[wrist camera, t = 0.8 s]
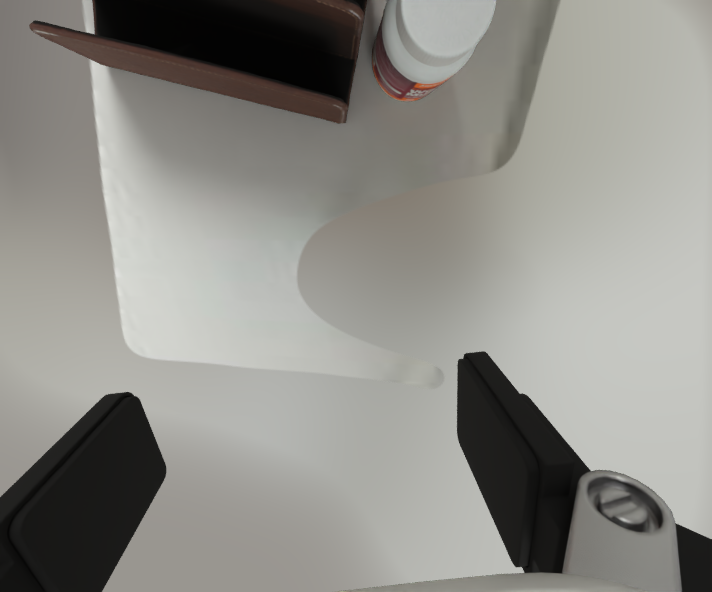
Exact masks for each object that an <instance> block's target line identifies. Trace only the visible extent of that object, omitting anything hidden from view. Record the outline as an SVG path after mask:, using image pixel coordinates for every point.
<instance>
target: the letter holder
mask: <svg viewBox="0 0 712 592" xmlns="http://www.w3.org/2000/svg"><path fill="white" fill-rule="evenodd" d="M92 1H93V12H94V27H95V35H94V34H90V33H85V32H80V31H75V30H72V29H69V28H65V27H60V26H57V25H53V24H49V23H45V22H40V21H33V22H32V23H31V24H30V25H29V26H30V29H31V30H32V31H33V32H35V33H36V34H38V35H40V36H41V37H44V38H45V39H48V40H50V41H52V42H54V43H57V44H59V45H61V46H63V47H65V48H67V49H69V50H72V51H74V52H76V53H78V54H80V55H82V56H85V57H87V58H89V59H91V60H93V61H95V62H97V63H99V64H102V65H105V66H109V67H113V68H118V69H122V70H126V71H130V72H134V73H138V74H141V75H146V76H149V77H154V78H158V79H162V80H166V81H170V82H174V83H178V84H182V85H186V86H190V87H194V88H198V89H202V90H207V91H211V92H215V93H219V94H223V95H227V96H231V97H235V98H239V99H243V100H247V101H251V102H255V103H259V104H263V105H267V106H271V107H275V108H280V109H284V110H288V111H292V112H296V113H300V114H305V115H309V116H313V117H317V118H321V119H325V120H328V121H333V122H336V123H345V122H346V116H347V111H348V106H349V99H350V92H351V87H352V81H353V76H354V71H355V66H356V61H357V57H358V51H359V45H360V40H361V33H362V27H363V21H364V16H365V10H366V4H367V0H92Z"/></svg>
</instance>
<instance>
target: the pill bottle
mask: <svg viewBox="0 0 712 592" xmlns="http://www.w3.org/2000/svg"><path fill="white" fill-rule="evenodd" d="M495 7H496V0H387V3H386V6H385V9H384V13H383V17H382V20H381V23H380V26H379V30H378V33H377V36H376V39H375V42H374V46H373V52H372V66H373V72H374V75H375V78H376V80H377V82H378V84H379V86H380V87H381V88H382V90H383V91H384V92H385V93H386V94H387V95H389V96H390V97H392V98H394V99H396V100H399V101H404V102H410V101H416V100H419V99H421V98H423V97H425V96H426V95H428V94H429V93H431V92H432V91H433V90H435V89H436V88H437V87H439V86H440V85H442V84H443V83H444V82H445V81H447V80H448V79H449V78H450V77H452V76H453V75H454V74H456V73H457V72H458V71H459V70H460V69H461V68H462V67H463V66H464V65H465V64H466V63H467V61H468V60H469V59H470V57H471V55H472V54H473V52H474V50H475V48H476V45H477V43H478V42H479V41H480V40H481V38H482V37H483V36H484V34H485V32H486V31H487V29H488V27H489V25H490V23H491V20H492V18H493V15H494V11H495Z"/></svg>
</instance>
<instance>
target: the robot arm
mask: <svg viewBox="0 0 712 592" xmlns="http://www.w3.org/2000/svg"><path fill="white" fill-rule="evenodd" d="M457 397H458V398H457V434H458V440H459V443H460V446H461V448H462V450H463V452H464V455H465V457H466V459H467V462H468V464H469V466H470V468H471V471H472V473H473V475H474V477H475V480H476V482H477V484H478V486H479V489H480V491H481V493H482V495H483V498H484V500H485V502H486V504H487V507H488V509H489V511H490V513H491V516H492V518H493V520H494V522H495V525H496V527H497V529H498V531H499V534H500V536H501V538H502V540H503V543H504V545H505V547H506V550H507V552H508V554H509V556H510V559H511V561H512V562H513V564H514V565H515V566H516V567H522V568H523V570H524V572H525V573H519V574H518V573H517V574H497V575H486V576H476V577H466V578H456V579H446V580H435V581H424V582H415V583H407V584H398V585H390V586H382V587H372V588H364V589H355V590H347V591H338V592H712V539H709V538H707V537H705V536H703V535H700V534H698V533H696V532H694V531H691V530H689V529H687V528H685V527H682V526H680V525H678V524H676V523H675V520H674V517H673V514H672V512H671V510H670V509H669V507H668V506H667V504H666V503H665V502H664V501H663V499H662V498H661V497H659V496H658V495H657V494H656V493H655V492H654V491H653V490H652V489H650V488H649V487H647V486H646V485H644V484H643V483H641V482H639V481H638V480H636V479H633V478H631V477H629V476H627V475H624V474H621V473H617V472H613V471H607V470H595V471H590V470H589V468H588V467H587V466H586V465H585V464H584V463H583V461H582V460H581V459H580V458H579V456H578V455H577V454H576V453H575V452H574V450H573V449H572V448H571V447H570V446H569V445H568V443H567V442H566V441H565V440H564V439H563V438H562V436H561V435H560V434H559V433H558V431H557V430H556V429H555V428H554V427H553V425H552V424H551V423H550V422H549V421H548V420H547V418H546V417H545V416H544V415H543V413H542V412H541V411H540V410H539V409H538V407H537V406H536V405H535V404H534V403H533V402H532V400H531V399H530V398H529V397H528V396H527V395H525V394H519V393H518V391H517V390H516V389H515V387H514V386H513V385H512V384H511V382H510V381H509V380H508V379H507V378H506V376H505V375H504V374H503V373H502V371H501V370H500V369H499V368H498V366H497V365H496V364H495V363H494V362H493V360H492V359H491V358H490V356H489V355H488V354H487V353H486V352H475V353H466V354H464V358H463V359H459V360H458V391H457ZM165 476H166V465H165V462H164V460H163V458H162V455H161V452H160V450H159V448H158V444H157V442H156V439H155V437H154V434H153V432H152V430H151V427H150V424H149V422H148V419H147V417H146V414H145V412H144V409H143V407H142V404H141V402H140V400H139V398H138V397H135V396H134V395H133V394H132V393H129V392H124V393H115V394H108V395H105V396H104V397H103V398H102V399H101V400H100V401H99V402H98V403H96V404H95V406H93V407H92V408H91V409H90V410H89V411H88V412H87V413H86V414H85V415H84V416H83V417H82V418H81V419H80V420H79V421H78V422H77V423H76V424H75V425H74V426H73V427H72V428H71V429H70V430H69V431H68V432H67V433H66V434H65V435H64V436H63V437H62V438H61V439H60V440H59V441H58V442H56V443H55V444H54V445H53V446H52V448H50V449H49V450H48V451H47V452H46V453H45V454H44V455H43V456H42V457H41V458H40V459H39V460H38V461H37V462H36V463H35V464H34V465H33V466H32V467H31V468H30V469H29V470H28V471H27V472H26V473H25V474H24V475H23V476H22V477H21V478H20V479H19V480H18V481H17V482H16V483H14V485H12V487H10V488H9V489H8V490H7V491H6V492H5V493H4V494H3V495H2V496H1V497H0V592H102V590H103V589H104V587H105V585H106V583H107V581H108V580H109V578H110V576H111V574H112V572H113V571H114V569H115V567H116V565H117V564H118V562H119V560H120V558H121V556H122V554H123V553H124V551H125V549H126V547H127V545H128V544H129V542H130V540H131V538H132V537H133V535H134V533H135V531H136V529H137V527H138V526H139V524H140V522H141V520H142V518H143V517H144V515H145V513H146V511H147V509H148V508H149V506H150V504H151V502H152V501H153V499H154V497H155V495H156V493H157V491H158V490H159V488H160V486H161V484H162V483H163V481H164V478H165Z"/></svg>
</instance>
